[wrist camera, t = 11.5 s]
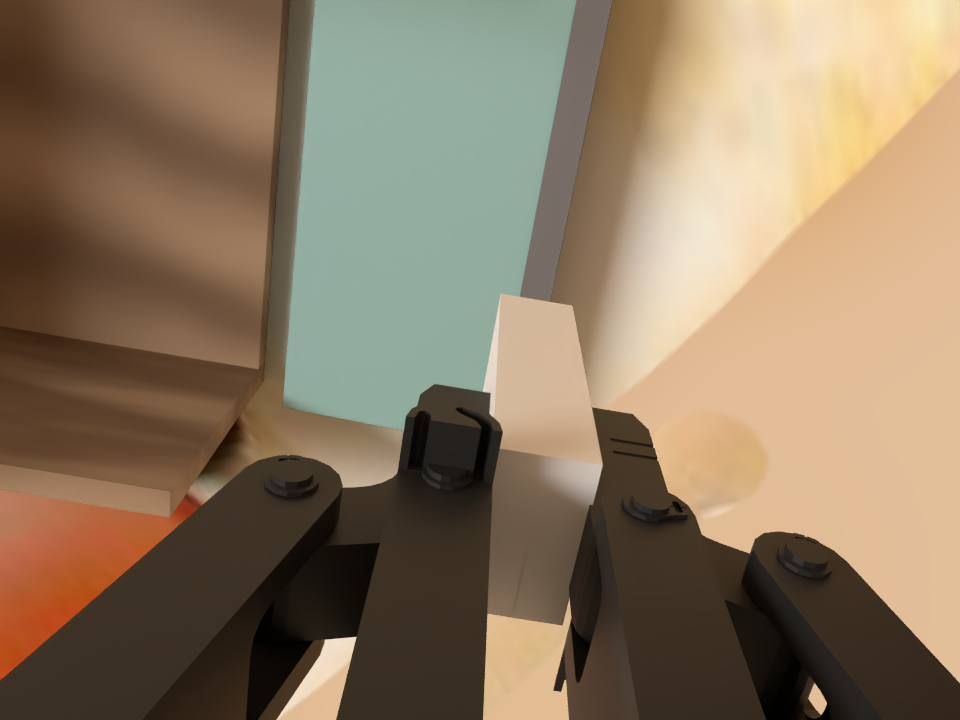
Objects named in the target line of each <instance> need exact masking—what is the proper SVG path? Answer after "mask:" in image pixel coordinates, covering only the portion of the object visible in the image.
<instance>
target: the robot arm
mask: <svg viewBox="0 0 960 720" xmlns="http://www.w3.org/2000/svg"><path fill="white" fill-rule="evenodd" d="M342 486H343V485H342V482H341V479H340V475H339V474H338V473H337V472H336V471H334V470H333V469H332V468H331V467H330V466H329V465H326V464H324V463H322V462H319V461H317V460H315V459H311V458H305V457H301V456H296V455H290V456H287V455H282V456H274V457H270V458H266V459H262V460H258V461H256V462H255V463H253V464H251V465H249V466H248V467H246V468H245V469H244V470H242V471H241V472H240V473H239V474H238V475H237V476H235V477H234V478H233V479H232V480H231V481H230V482H229V483H227V484H226V485H225V486H224V487H223V488H222V489H220V490H219V491H218V492H217V493H216V494H215V495H214V496H212V497H211V498H210V499H209V500H208V501H207V502H206V503H204V504H203V505H202V506H201V507H200V508H199V509H197V510H196V511H195V512H194V513H193V514H192V515H191V516H189V517H188V518H187V519H186V520H185V521H184V522H182V523H181V524H180V525H179V526H178V527H177V528H176V529H174V530H173V531H172V532H171V533H170V534H169V535H168V536H166V537H165V538H164V539H163V540H162V541H161V542H159V543H158V544H157V545H156V546H155V547H154V548H153V549H151V550H150V551H149V552H148V553H147V554H146V555H144V556H143V557H142V558H141V559H140V560H139V561H138V562H136V563H135V564H134V565H133V566H132V567H131V568H129V569H128V570H127V571H126V572H125V573H124V574H123V575H121V576H120V577H119V578H118V579H117V580H116V581H115V582H113V583H112V584H111V585H110V586H109V587H108V588H106V589H105V590H104V591H103V592H102V593H101V594H100V595H98V596H97V597H96V598H95V599H94V600H93V601H91V602H90V603H89V604H88V605H87V606H86V607H85V608H83V609H82V610H81V611H80V612H79V613H78V614H77V615H75V616H74V617H73V618H72V619H71V620H70V621H68V622H67V623H66V624H65V625H64V626H63V627H62V628H60V629H59V630H58V631H57V632H56V633H55V634H53V635H52V636H51V637H50V638H49V639H48V640H47V641H45V642H44V643H43V644H42V645H41V646H40V647H38V648H37V649H36V650H35V651H34V652H33V653H32V654H30V655H29V656H28V657H27V658H26V659H25V660H24V661H22V662H21V663H20V664H19V665H18V666H17V667H15V668H14V669H13V670H12V671H11V672H10V673H9V674H7V675H6V676H5V677H4V678H3V679H2V680H0V720H276V719H277V718H278V716H279V715H280V713H281V712H282V710H283V709H284V707H285V706H286V704H287V703H288V701H289V700H290V699H291V697H292V696H293V694H294V693H295V691H296V690H297V688H298V687H299V685H300V684H301V682H302V681H303V679H304V678H305V676H306V675H307V673H308V672H309V670H310V669H311V668H312V666H313V665H314V663H315V662H316V660H317V659H318V657H319V656H320V653H321V651H322V648H323V645H324V641H325V639H336V638H347V637H357V638H356V642H355V646H354V650H353V654H352V658H351V662H350V667H349V670H348V674H347V678H346V683H345V687H344V691H343V695H342V699H341V703H340V707H339V711H338V715H337V719H336V720H483V703H484V680H485V656H486V632H487V614H494V615H500V616H506V617H513V618H519V619H525V620H532V621H538V622H544V623H551V624H557V625H563V621H564V617H565V613H566V609H567V605H568V601H569V597H570V606H571V617H572V618H571V622H570V626H569V630H568V634H567V638H566V642H565V646H564V650H563V654H562V657H561V661H560V666H559V669H558V673H557V677H556V681H555V686H554V691H560V692H561V690H562V687H563V683H564V680H566V683H567V697H568V709H569V720H960V683H959V682H958V681H957V680H956V679H955V678H954V677H953V676H952V674H951V673H950V672H949V671H948V670H947V669H946V668H945V667H944V666H943V665H942V664H941V663H940V662H939V660H938V659H937V658H936V657H935V656H934V655H933V654H932V653H931V652H930V651H929V650H928V649H927V648H926V646H925V645H924V644H923V643H922V642H921V641H920V640H919V639H918V638H917V637H916V636H915V635H914V634H913V633H912V631H911V630H910V629H909V628H908V627H907V626H906V625H905V624H904V623H903V622H902V621H901V620H900V618H899V617H898V616H897V615H896V614H895V613H894V612H893V611H892V610H891V609H890V608H889V607H888V606H887V604H886V603H885V602H884V601H883V600H882V599H881V598H880V597H879V596H878V595H877V594H876V593H875V591H874V590H873V589H871V587H870V586H869V585H868V584H867V583H866V582H865V581H864V580H863V579H862V577H861V576H860V575H859V574H858V573H857V572H856V571H855V570H854V569H853V568H852V567H851V566H850V565H849V563H847V561H845V560H844V559H843V558H842V557H840V556H839V555H838V554H837V553H836V552H835V551H833V550H832V549H830V548H828V547H826V546H824V545H823V544H821V543H819V542H818V541H817V540H815V539H812V538H810V537H807V538H806V537H805V536H804V535H800V534H796V533H793V534H792V533H785V532H770V533H764V534H762V535H761V536H759V537H758V538H756V539H755V541H754V544H753V547H752V549H751V552H750V554H749V553H746V552H743V551H740V550H738V549H734V548H732V547H729V546H726V545H723V544H721V543H718V542H716V541H713V540H711V539H708V538H706V537H705V536H703V535H702V534H701V531H700V528H699V525H698V523H697V520H696V517H695V515H694V514H693V512H692V511H691V509H690V508H689V506H688V505H687V504H685V503H684V502H683V501H681V500H680V499H679V498H678V497H676V496H674V495H672V494H670V493H668V490H667V487H666V484H665V481H664V478H663V474H662V471H661V468H660V465H659V462H658V461H657V455H656V452H655V449H654V448H653V443H652V439H651V436H650V433H649V430H648V429H647V428H646V427H645V426H644V425H643V424H642V423H641V422H640V421H639V420H638V419H637V418H636V417H635V416H634V415H633V414H628V413H621V412H616V411H610V410H604V409H598V408H592V405H591V400H590V395H589V390H588V384H587V379H586V374H585V369H584V363H583V358H582V353H581V348H580V342H579V337H578V332H577V327H576V321H575V316H574V311H573V306H572V305H566V304H560V303H554V302H548V301H542V300H536V299H530V298H524V297H518V296H512V295H506V294H500V300H499V305H498V311H497V316H496V322H495V327H494V333H493V338H492V344H491V349H490V355H489V360H488V366H487V371H486V377H485V382H484V388H483V392H482V391H475V390H469V389H463V388H457V387H451V386H445V385H439V384H434V385H432V386H431V387H430V388H428V389H427V390H426V391H424V392H423V393H421V394H420V397H419V401H418V405H417V406H416V407H414V408H412V409H411V410H410V411H409V413H408V414H407V415H406V419H405V426H404V433H403V440H402V447H401V454H400V461H399V468H398V472H397V474H396V475H395V476H394V477H393V478H391V479H389V480H387V481H385V482H383V483H380V484H376V485H372V486H366V487H356V488H342ZM814 682H815V684H816V685H817V687H818V688H819V689H820V690H821V692H822V694H823V696H824V697H825V700H826V702H827V706H826V708H825V710H824V712H823V714H822V715H820V714H819V713H818V711H816V709H815V708H814V706H813V705H812V704H811V702H810V701H809V699H808V697H809V695H810V692H811V690H812V687H813V685H814Z"/></svg>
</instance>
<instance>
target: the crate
mask: <svg viewBox="0 0 960 720" xmlns="http://www.w3.org/2000/svg"><path fill="white" fill-rule="evenodd" d="M289 1H290V0H0V490H3V491H10V492H16V493H22V494H28V495H34V496H40V497H46V498H53V499H59V500H65V501H71V502H77V503H83V504H90V505H96V506H102V507H108V508H114V509H120V510H126V511H133V512H139V513H145V514H151V515H157V516H163V517H171V515H172V514H173V512H174V511H175V509H176V508H177V506H178V505H179V503H180V502H181V500H182V499H183V497H184V496H185V495H186V493H187V492H188V490H189V489H190V487H191V486H192V484H193V483H194V481H195V480H196V478H197V477H198V475H199V474H200V473H201V471H202V470H203V468H204V467H205V465H206V464H207V462H208V461H209V459H210V458H211V456H212V455H213V454H214V452H215V451H216V449H217V448H218V446H219V445H220V443H221V442H222V440H223V439H224V437H225V436H226V434H227V433H228V432H229V430H230V429H231V427H232V426H233V424H234V423H235V421H236V420H237V418H238V417H239V415H240V414H241V412H242V411H243V410H244V408H245V407H246V405H247V404H248V402H249V401H250V399H251V398H252V396H253V395H254V393H255V392H256V391H257V389H258V388H259V386H260V385H261V383H262V382H263V378H264V364H265V349H266V335H267V320H268V306H269V291H270V277H271V262H272V248H273V233H274V219H275V204H276V190H277V175H278V161H279V146H280V132H281V117H282V103H283V88H284V74H285V59H286V45H287V30H288V16H289Z"/></svg>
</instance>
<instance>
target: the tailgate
mask: <svg viewBox="0 0 960 720" xmlns="http://www.w3.org/2000/svg"><path fill="white" fill-rule="evenodd" d="M612 1H613V0H315V5H314V18H313V30H312V43H311V55H310V68H309V80H308V93H307V106H306V118H305V131H304V143H303V156H302V168H301V181H300V193H299V206H298V218H297V231H296V243H295V256H294V268H293V281H292V293H291V306H290V319H289V331H288V344H287V356H286V369H285V381H284V394H283V406H282V407H284V408H289V409H294V410H299V411H304V412H310V413H315V414H320V415H325V416H330V417H336V418H341V419H346V420H351V421H356V422H362V423H367V424H372V425H377V426H382V427H388V428H393V429H398V430H403V431H404V426H405V419H406V415H407V414H408V413H409V411H410V410H411V409H412V408H414V407H416V406H417V405H418V401H419V397H420V394H421V393H423V392H424V391H426V390H427V389H428V388H430V387H431V386H432V385H434V384H439V385H445V386H451V387H457V388H463V389H469V390H475V391H482V392H483V388H484V382H485V377H486V371H487V366H488V360H489V355H490V349H491V344H492V338H493V333H494V327H495V322H496V316H497V311H498V305H499V300H500V294H506V295H512V296H518V297H524V298H530V299H536V300H542V301H548V302H550V300H551V295H552V290H553V286H554V281H555V276H556V271H557V266H558V261H559V257H560V252H561V247H562V242H563V237H564V232H565V228H566V223H567V218H568V213H569V208H570V203H571V199H572V194H573V189H574V184H575V179H576V175H577V170H578V165H579V160H580V155H581V150H582V146H583V141H584V136H585V131H586V126H587V121H588V117H589V112H590V107H591V102H592V97H593V92H594V88H595V83H596V78H597V73H598V68H599V63H600V59H601V54H602V49H603V44H604V39H605V34H606V30H607V25H608V20H609V15H610V10H611V6H612Z"/></svg>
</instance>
